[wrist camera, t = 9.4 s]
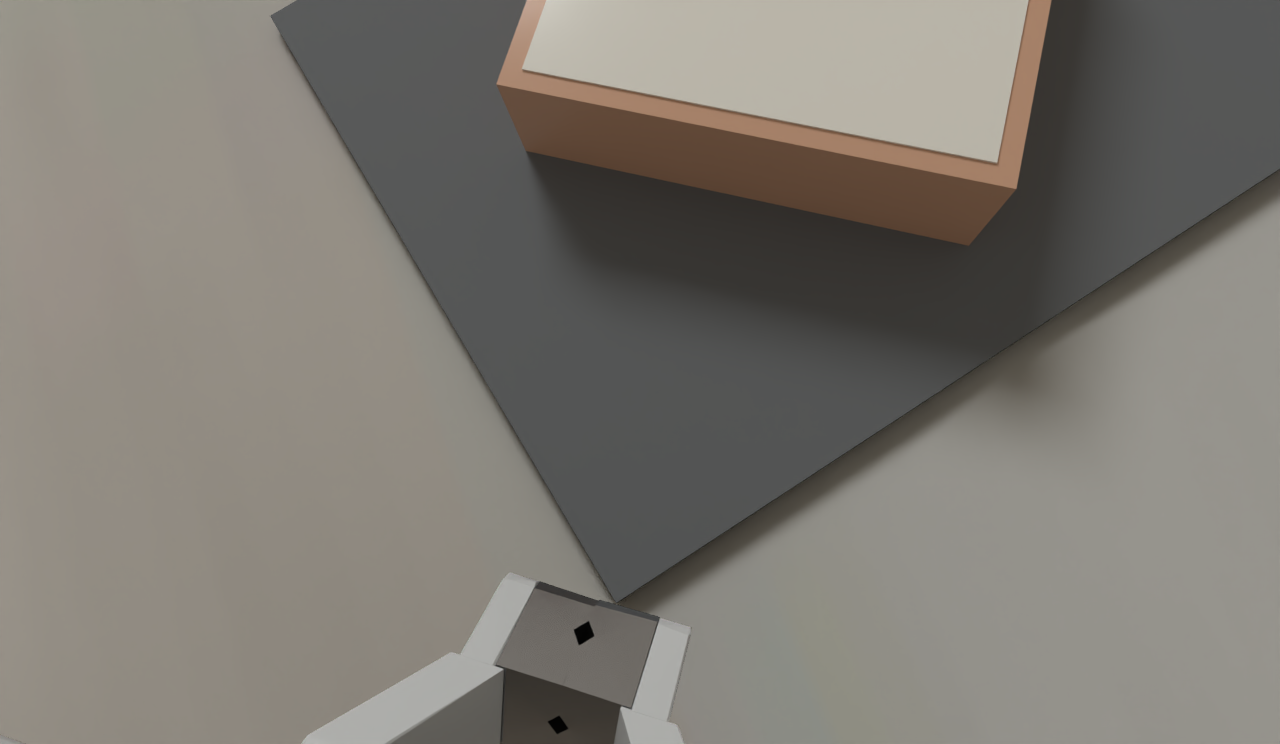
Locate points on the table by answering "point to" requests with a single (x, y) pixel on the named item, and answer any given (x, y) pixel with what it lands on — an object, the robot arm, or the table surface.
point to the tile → (790, 100)
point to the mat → (764, 253)
